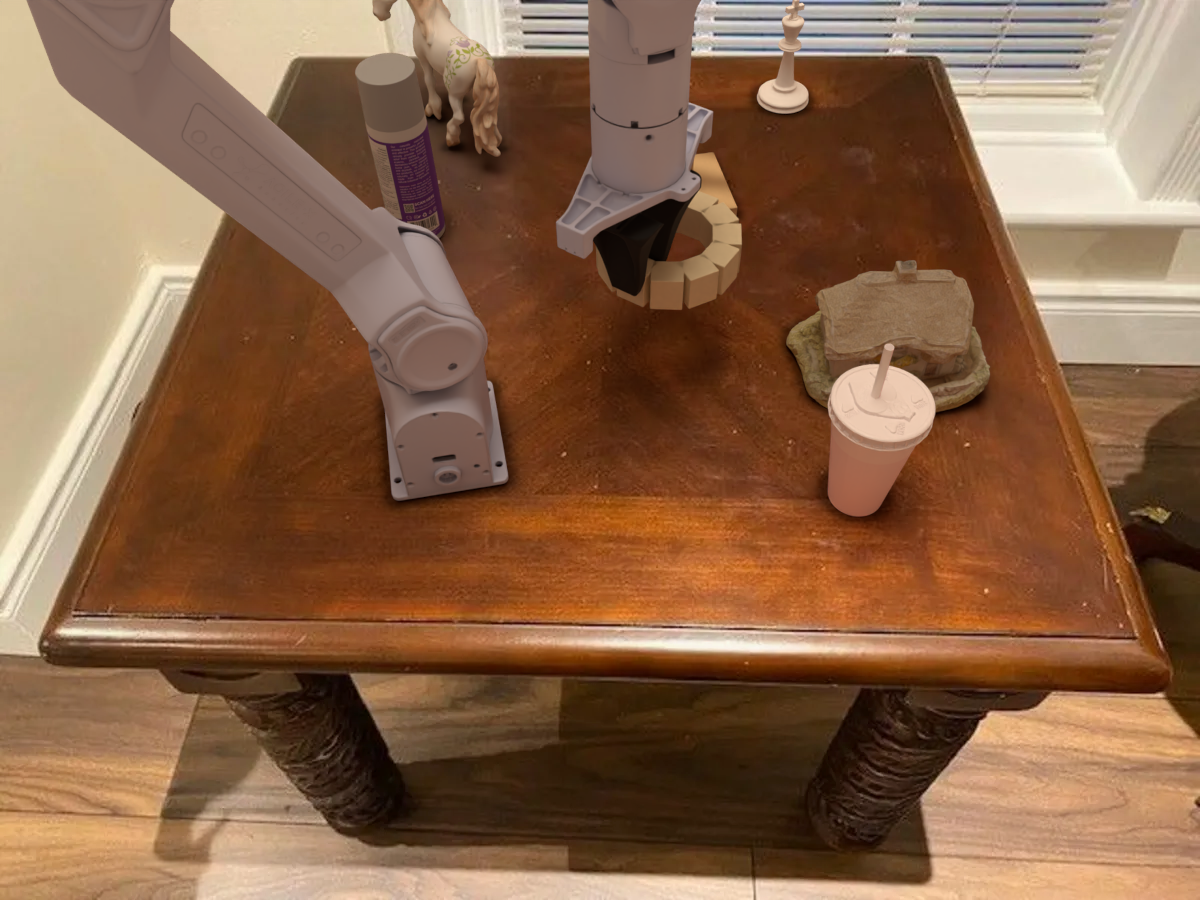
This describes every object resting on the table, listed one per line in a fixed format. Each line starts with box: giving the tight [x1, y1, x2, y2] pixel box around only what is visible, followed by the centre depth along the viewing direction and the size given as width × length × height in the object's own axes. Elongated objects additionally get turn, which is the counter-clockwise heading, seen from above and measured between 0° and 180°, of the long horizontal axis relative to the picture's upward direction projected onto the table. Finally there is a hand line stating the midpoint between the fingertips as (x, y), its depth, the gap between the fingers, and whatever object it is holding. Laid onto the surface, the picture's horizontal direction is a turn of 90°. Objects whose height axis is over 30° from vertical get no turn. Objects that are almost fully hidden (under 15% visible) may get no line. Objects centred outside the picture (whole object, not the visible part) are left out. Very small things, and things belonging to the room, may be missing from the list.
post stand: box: [691, 151, 738, 216], centre depth 88 cm, size 8×8×6 cm
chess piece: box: [756, 0, 809, 115], centre depth 95 cm, size 5×5×10 cm
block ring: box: [595, 191, 743, 311], centre depth 72 cm, size 10×10×3 cm
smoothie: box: [827, 344, 936, 517], centre depth 65 cm, size 6×6×14 cm
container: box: [354, 52, 446, 239], centre depth 82 cm, size 5×5×15 cm
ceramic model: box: [785, 259, 991, 413], centre depth 74 cm, size 14×11×10 cm
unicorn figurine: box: [371, 0, 503, 158], centre depth 93 cm, size 7×20×13 cm, turn 48°
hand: (637, 276), depth 70 cm, fingers closed on block ring, 2 cm apart
